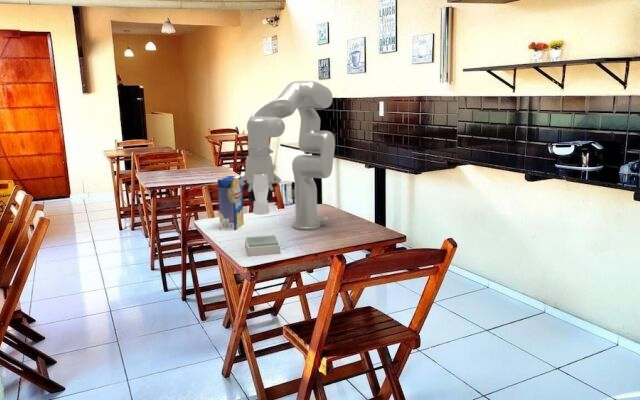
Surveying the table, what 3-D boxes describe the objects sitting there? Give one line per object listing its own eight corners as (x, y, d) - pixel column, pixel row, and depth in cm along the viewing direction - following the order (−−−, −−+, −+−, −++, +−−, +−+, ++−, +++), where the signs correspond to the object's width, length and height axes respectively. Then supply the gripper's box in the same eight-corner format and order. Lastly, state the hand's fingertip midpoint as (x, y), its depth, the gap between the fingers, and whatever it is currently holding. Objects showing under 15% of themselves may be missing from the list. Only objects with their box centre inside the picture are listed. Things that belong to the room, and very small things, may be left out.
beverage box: (243, 224, 238) (241, 176, 233) (235, 230, 227) (232, 180, 222) (229, 223, 239) (227, 175, 234) (220, 229, 228) (217, 179, 224)
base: (275, 244, 206) (275, 234, 205) (280, 253, 194) (280, 243, 193) (245, 246, 203) (244, 236, 202) (247, 256, 192) (247, 245, 191)
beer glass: (262, 215, 191) (261, 174, 188) (247, 213, 194) (246, 173, 191) (274, 212, 197) (273, 172, 194) (259, 209, 200) (258, 170, 197)
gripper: (281, 150, 196) (282, 197, 200) (234, 152, 193) (236, 200, 196) (284, 153, 189) (285, 201, 193) (235, 154, 186) (237, 204, 189)
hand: (260, 200), depth 195 cm, fingers closed on beer glass, 6 cm apart
